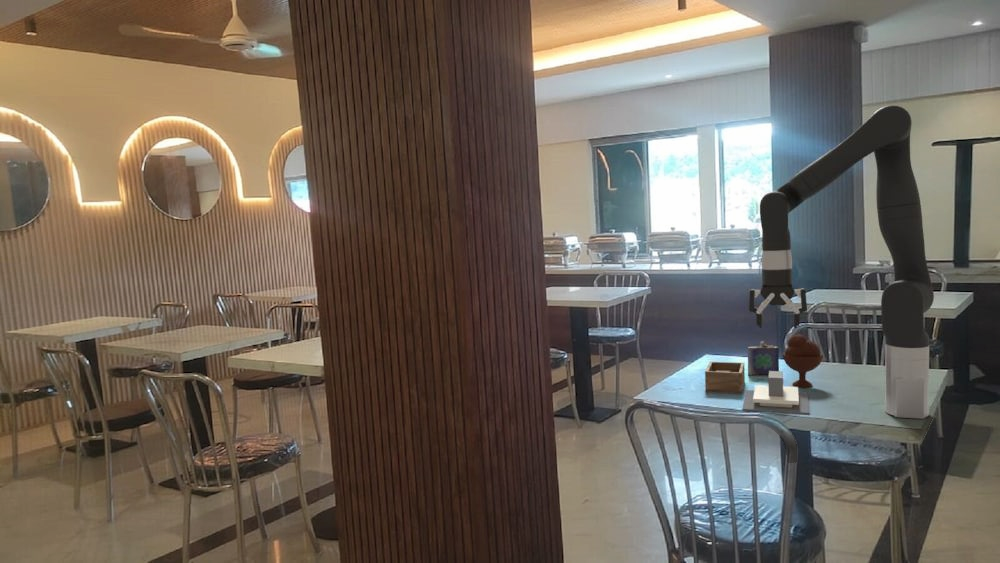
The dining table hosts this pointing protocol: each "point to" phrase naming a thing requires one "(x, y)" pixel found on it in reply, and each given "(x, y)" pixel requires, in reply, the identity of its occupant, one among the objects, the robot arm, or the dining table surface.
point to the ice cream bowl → (802, 358)
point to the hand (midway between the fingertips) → (778, 327)
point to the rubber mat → (797, 409)
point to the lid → (776, 392)
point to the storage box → (725, 377)
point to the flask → (763, 359)
